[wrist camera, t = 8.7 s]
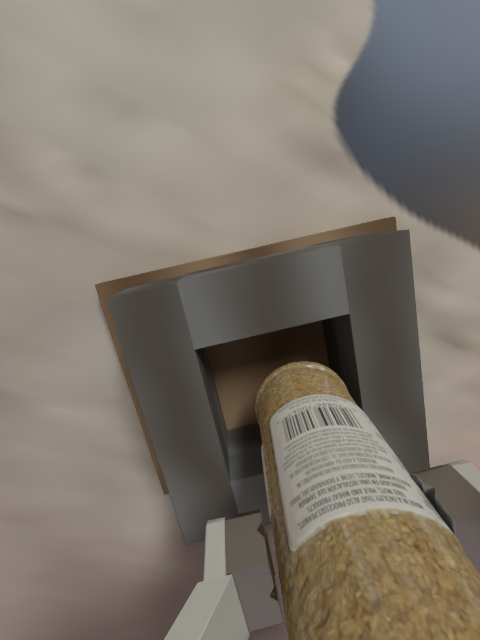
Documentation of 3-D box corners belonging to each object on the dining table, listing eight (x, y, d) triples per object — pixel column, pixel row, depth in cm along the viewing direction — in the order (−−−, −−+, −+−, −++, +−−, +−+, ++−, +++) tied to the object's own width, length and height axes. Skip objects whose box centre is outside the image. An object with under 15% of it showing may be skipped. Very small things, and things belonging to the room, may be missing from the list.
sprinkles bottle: (249, 437, 16) (310, 1322, 3) (260, 352, 15) (435, 1202, 2) (339, 444, 16) (764, 1308, 3) (356, 361, 15) (1146, 1189, 2)
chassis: (166, 483, 22) (150, 561, 16) (101, 282, 18) (53, 298, 13) (407, 425, 22) (468, 483, 17) (386, 218, 19) (454, 207, 13)
